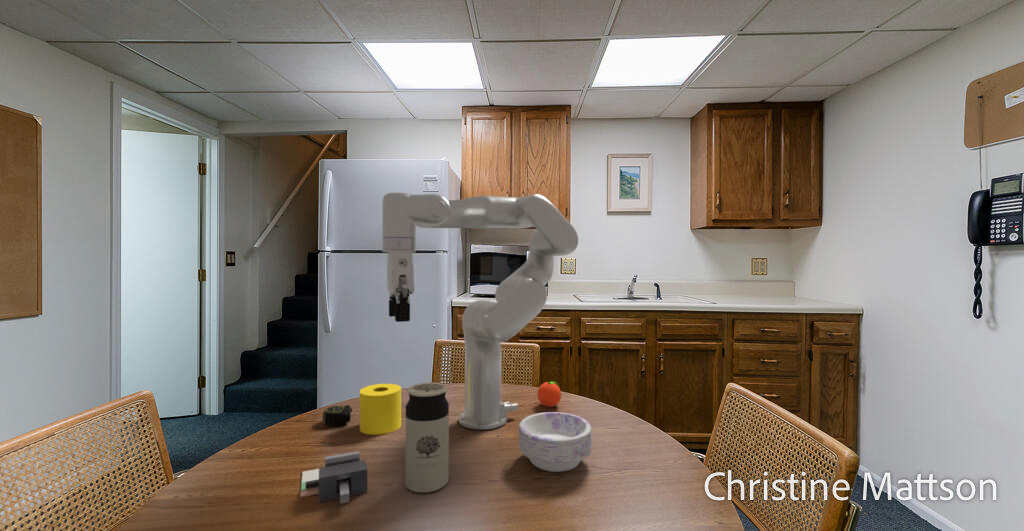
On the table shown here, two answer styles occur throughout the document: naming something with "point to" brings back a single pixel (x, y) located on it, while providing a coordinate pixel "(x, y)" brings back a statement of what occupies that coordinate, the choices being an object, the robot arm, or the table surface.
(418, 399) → the travel mug
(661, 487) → the table surface
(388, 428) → the tape roll
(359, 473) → the block
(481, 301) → the robot arm
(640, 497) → the table surface
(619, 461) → the table surface
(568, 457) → the paper bowls
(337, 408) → the tape measure
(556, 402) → the clementine
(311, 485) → the grey t-shaped piece
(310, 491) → the scale strip
